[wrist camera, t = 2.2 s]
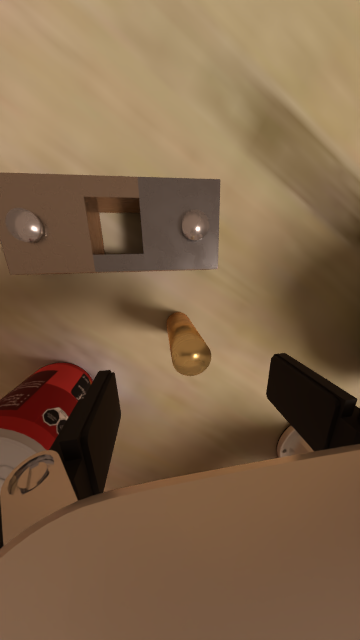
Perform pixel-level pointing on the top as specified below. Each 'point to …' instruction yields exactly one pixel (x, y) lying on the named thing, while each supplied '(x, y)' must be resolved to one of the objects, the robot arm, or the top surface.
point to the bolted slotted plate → (85, 228)
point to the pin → (187, 346)
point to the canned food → (38, 412)
